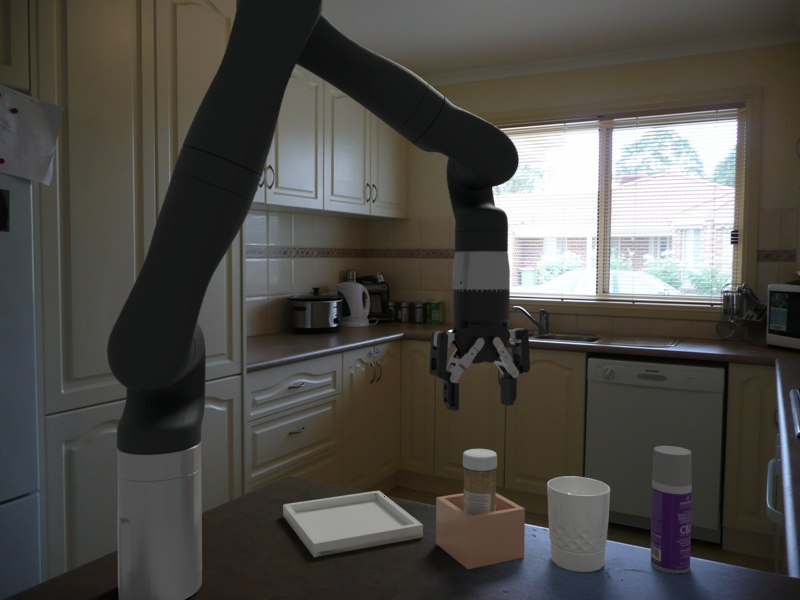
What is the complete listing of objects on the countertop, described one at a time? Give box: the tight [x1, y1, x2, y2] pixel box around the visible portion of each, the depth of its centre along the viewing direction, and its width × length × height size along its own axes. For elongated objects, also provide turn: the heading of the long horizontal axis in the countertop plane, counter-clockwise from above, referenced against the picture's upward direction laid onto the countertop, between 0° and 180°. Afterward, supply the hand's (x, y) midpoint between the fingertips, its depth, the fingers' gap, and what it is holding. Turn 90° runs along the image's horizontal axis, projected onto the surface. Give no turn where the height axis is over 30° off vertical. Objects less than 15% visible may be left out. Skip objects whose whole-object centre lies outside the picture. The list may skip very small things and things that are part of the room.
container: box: [650, 445, 693, 575], centre depth 83 cm, size 5×5×15 cm
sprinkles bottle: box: [462, 448, 498, 516], centre depth 87 cm, size 5×5×13 cm
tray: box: [282, 490, 424, 558], centre depth 96 cm, size 16×16×2 cm
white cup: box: [546, 475, 611, 573], centre depth 84 cm, size 8×8×10 cm
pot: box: [435, 492, 526, 570], centre depth 87 cm, size 9×9×6 cm
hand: (480, 407), depth 87 cm, fingers open, 8 cm apart
